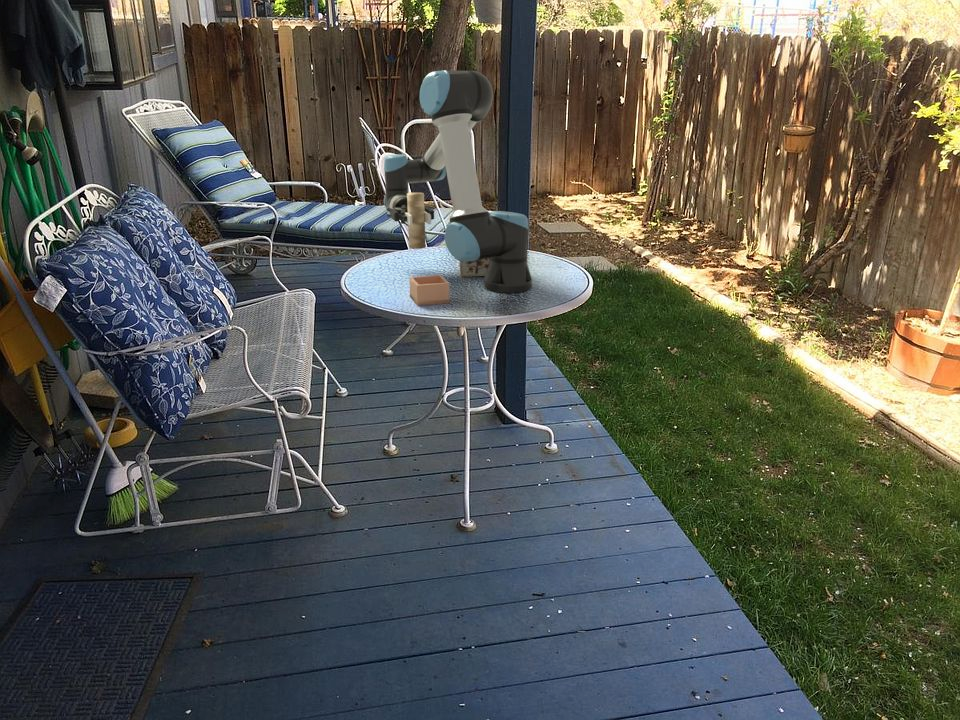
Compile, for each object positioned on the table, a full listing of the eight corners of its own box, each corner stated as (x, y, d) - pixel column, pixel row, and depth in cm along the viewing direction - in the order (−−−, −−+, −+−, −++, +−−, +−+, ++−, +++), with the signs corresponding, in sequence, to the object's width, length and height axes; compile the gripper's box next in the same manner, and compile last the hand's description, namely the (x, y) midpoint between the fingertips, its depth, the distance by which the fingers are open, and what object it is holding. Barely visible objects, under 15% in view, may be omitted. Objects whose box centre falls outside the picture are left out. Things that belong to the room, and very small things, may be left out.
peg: (423, 244, 230) (421, 192, 224) (427, 248, 226) (425, 194, 220) (407, 245, 229) (405, 192, 223) (411, 249, 224) (409, 195, 219)
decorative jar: (495, 268, 255) (495, 216, 248) (495, 277, 244) (495, 222, 238) (460, 268, 255) (460, 215, 249) (458, 277, 244) (458, 222, 238)
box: (441, 294, 226) (440, 274, 223) (449, 303, 217) (449, 283, 215) (409, 296, 223) (409, 277, 221) (417, 305, 214) (416, 285, 212)
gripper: (431, 218, 244) (450, 231, 223) (376, 221, 239) (390, 234, 218) (430, 194, 241) (449, 205, 220) (375, 197, 236) (389, 208, 215)
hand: (420, 220), depth 219 cm, fingers closed on peg, 5 cm apart
